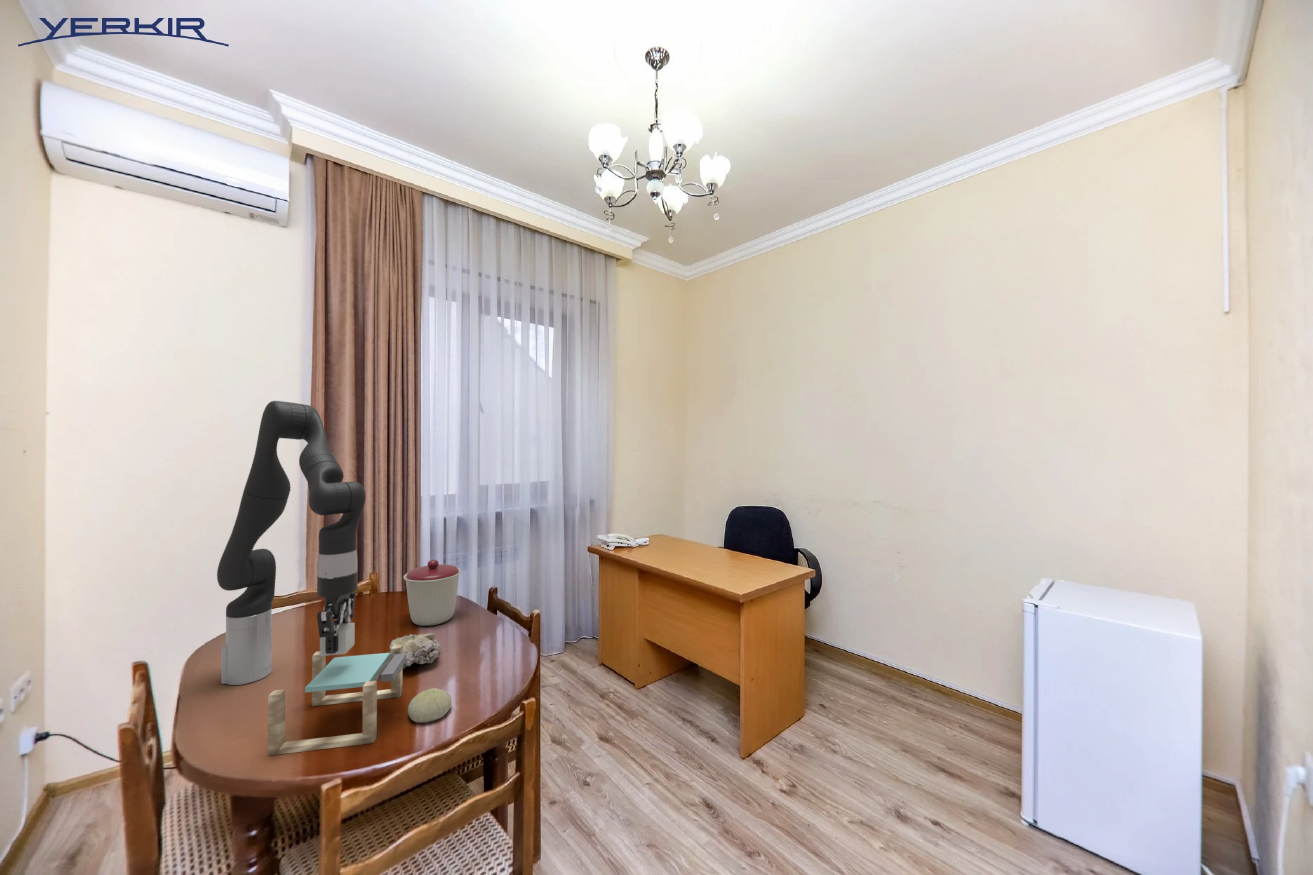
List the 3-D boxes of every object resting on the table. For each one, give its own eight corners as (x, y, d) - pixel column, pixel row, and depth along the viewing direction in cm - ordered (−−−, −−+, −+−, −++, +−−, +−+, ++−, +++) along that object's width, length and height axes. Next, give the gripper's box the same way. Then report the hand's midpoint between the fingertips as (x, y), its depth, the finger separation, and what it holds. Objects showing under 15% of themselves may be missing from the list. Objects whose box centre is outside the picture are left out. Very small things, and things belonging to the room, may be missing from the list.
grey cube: (319, 655, 104) (319, 633, 104) (330, 646, 109) (330, 624, 109) (345, 653, 105) (345, 631, 105) (354, 644, 110) (354, 622, 110)
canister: (468, 621, 165) (468, 560, 165) (411, 635, 153) (412, 570, 153) (450, 607, 179) (451, 551, 179) (397, 619, 167) (397, 559, 167)
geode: (421, 665, 144) (372, 678, 131) (419, 632, 147) (371, 642, 134) (460, 655, 138) (413, 667, 125) (456, 621, 141) (410, 630, 128)
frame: (268, 755, 95) (268, 695, 95) (316, 701, 115) (316, 651, 115) (373, 742, 100) (373, 685, 100) (402, 692, 119) (402, 644, 119)
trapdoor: (408, 656, 117) (408, 649, 117) (389, 685, 103) (389, 677, 103) (334, 662, 113) (334, 656, 113) (304, 693, 99) (304, 686, 99)
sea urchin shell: (405, 723, 103) (407, 684, 108) (407, 734, 108) (409, 697, 114) (451, 713, 107) (451, 676, 112) (451, 724, 112) (451, 689, 117)
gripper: (333, 564, 113) (333, 635, 113) (302, 582, 99) (302, 663, 99) (368, 562, 115) (368, 633, 115) (342, 579, 101) (342, 660, 101)
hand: (337, 646), depth 107 cm, fingers closed on grey cube, 5 cm apart
